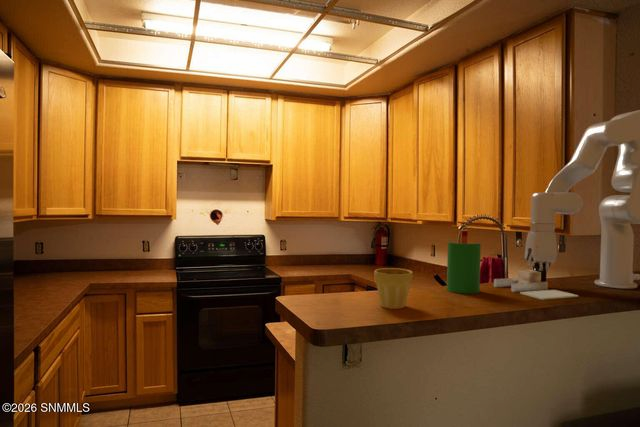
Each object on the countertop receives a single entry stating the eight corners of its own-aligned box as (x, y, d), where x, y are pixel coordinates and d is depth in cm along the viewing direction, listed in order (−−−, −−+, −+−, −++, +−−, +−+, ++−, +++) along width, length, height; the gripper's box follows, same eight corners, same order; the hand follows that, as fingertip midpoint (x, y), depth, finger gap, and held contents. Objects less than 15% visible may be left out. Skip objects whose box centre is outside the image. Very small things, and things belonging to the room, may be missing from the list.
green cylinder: (476, 288, 153) (477, 228, 152) (483, 294, 144) (484, 230, 143) (445, 288, 154) (446, 228, 153) (449, 293, 145) (451, 230, 144)
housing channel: (526, 284, 162) (526, 277, 162) (547, 289, 153) (547, 282, 153) (493, 286, 157) (493, 279, 157) (513, 291, 149) (513, 284, 148)
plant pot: (403, 312, 120) (404, 275, 120) (367, 307, 125) (368, 271, 125) (417, 305, 129) (418, 270, 128) (383, 300, 134) (383, 266, 134)
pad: (554, 291, 150) (554, 289, 150) (578, 296, 142) (578, 295, 142) (520, 293, 146) (520, 292, 146) (542, 299, 137) (542, 298, 137)
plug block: (529, 285, 160) (529, 269, 159) (540, 288, 155) (541, 272, 155) (517, 286, 158) (518, 270, 158) (528, 289, 153) (529, 272, 153)
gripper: (550, 227, 163) (549, 279, 164) (516, 228, 159) (515, 281, 159) (568, 229, 156) (566, 283, 157) (533, 229, 151) (531, 285, 152)
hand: (540, 281), depth 158 cm, fingers closed
